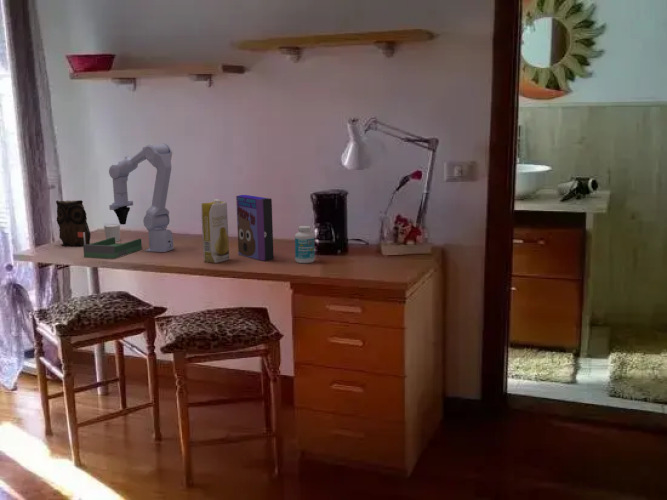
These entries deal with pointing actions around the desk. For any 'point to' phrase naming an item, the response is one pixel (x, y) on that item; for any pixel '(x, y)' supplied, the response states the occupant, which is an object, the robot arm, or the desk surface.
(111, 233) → the grey cup
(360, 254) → the desk surface
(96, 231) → the desk surface
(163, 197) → the robot arm
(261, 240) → the cereal box
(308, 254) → the pill bottle
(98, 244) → the putting green
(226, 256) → the juice carton
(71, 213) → the owl
